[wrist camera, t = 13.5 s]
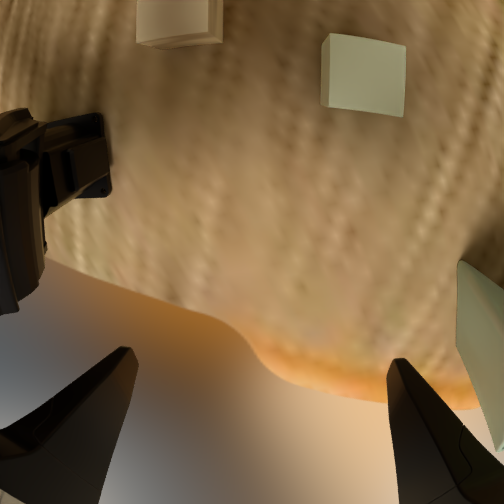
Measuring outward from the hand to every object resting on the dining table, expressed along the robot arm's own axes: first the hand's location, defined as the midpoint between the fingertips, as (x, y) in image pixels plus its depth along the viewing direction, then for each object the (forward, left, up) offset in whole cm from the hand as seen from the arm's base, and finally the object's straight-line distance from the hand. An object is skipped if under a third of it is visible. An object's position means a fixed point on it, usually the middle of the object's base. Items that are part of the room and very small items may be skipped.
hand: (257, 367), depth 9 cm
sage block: (+5, +10, -13) cm, 17 cm away
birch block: (-5, +13, -13) cm, 20 cm away
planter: (+22, -9, -13) cm, 27 cm away
